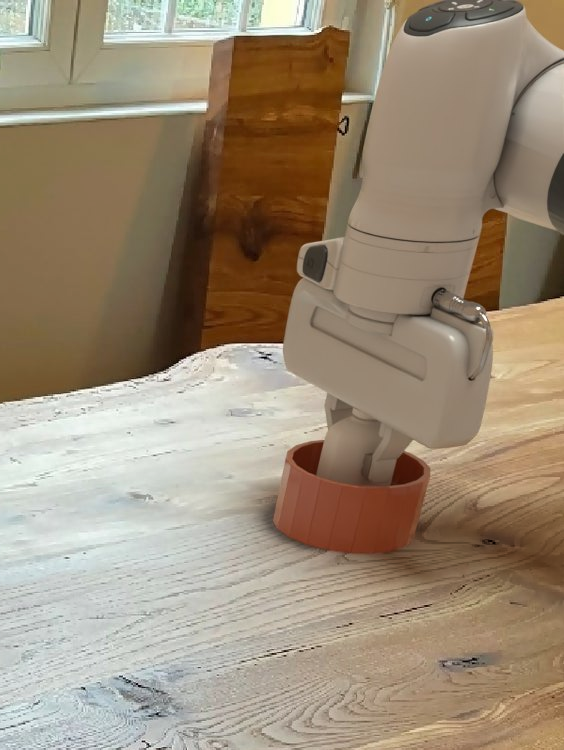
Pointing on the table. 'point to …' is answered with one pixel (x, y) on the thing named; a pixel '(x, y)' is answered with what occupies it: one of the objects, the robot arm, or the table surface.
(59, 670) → the table surface
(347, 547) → the cup
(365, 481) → the eye dropper bottle
